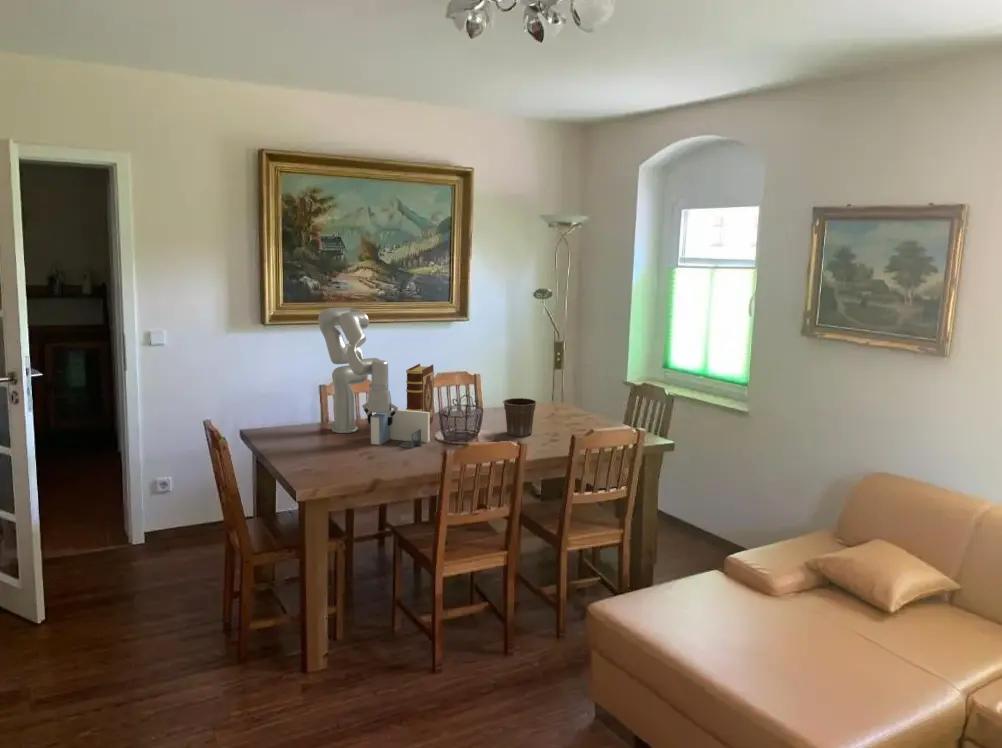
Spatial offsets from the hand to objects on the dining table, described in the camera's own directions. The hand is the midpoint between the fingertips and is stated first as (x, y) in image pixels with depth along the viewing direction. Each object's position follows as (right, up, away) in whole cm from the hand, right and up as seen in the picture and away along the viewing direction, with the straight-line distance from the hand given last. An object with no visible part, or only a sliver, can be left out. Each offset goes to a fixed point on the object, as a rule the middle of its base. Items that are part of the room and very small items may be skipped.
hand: (380, 424), depth 354 cm
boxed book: (0, -8, +1) cm, 8 cm away
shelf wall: (+10, -8, +6) cm, 14 cm away
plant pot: (+64, -6, +23) cm, 69 cm away
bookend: (+15, -9, -3) cm, 18 cm away
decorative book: (+15, -3, +34) cm, 37 cm away
